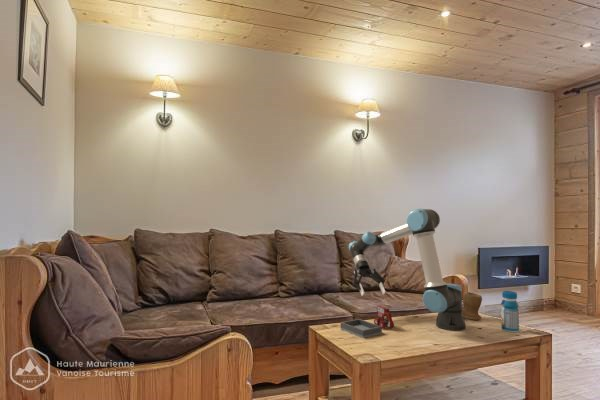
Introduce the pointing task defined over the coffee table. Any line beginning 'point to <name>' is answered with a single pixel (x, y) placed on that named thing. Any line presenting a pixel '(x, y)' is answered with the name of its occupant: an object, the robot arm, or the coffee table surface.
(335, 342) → the coffee table surface
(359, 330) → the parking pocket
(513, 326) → the beverage bottle
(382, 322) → the toy fire truck
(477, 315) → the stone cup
